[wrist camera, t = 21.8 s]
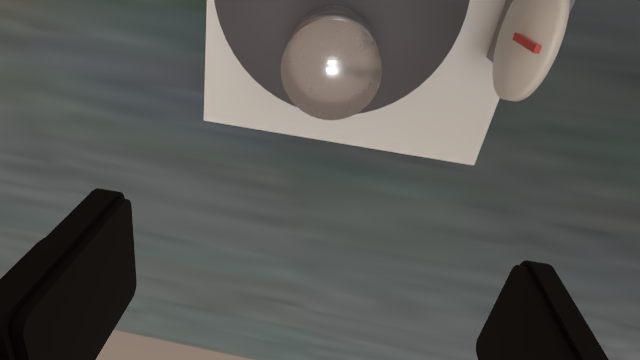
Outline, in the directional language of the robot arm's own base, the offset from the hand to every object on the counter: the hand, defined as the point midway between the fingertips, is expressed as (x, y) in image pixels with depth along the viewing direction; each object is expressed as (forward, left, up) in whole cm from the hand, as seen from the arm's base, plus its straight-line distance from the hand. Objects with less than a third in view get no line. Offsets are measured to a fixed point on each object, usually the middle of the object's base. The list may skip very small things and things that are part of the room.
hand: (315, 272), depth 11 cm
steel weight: (0, 0, -23) cm, 23 cm away
